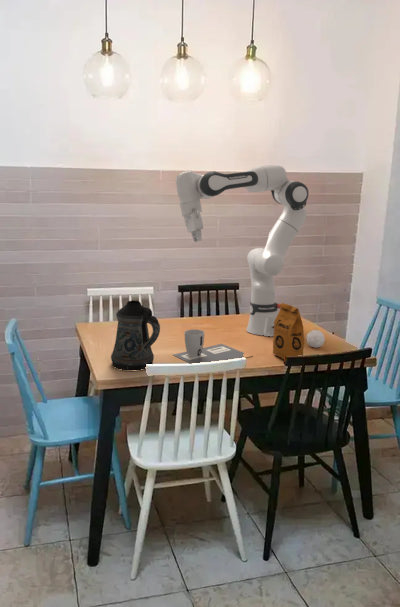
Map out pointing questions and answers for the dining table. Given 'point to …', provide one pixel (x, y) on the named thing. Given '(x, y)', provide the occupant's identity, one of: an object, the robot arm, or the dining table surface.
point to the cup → (194, 342)
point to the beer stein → (134, 337)
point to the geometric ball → (315, 338)
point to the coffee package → (288, 332)
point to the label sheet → (212, 354)
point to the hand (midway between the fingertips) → (198, 241)
